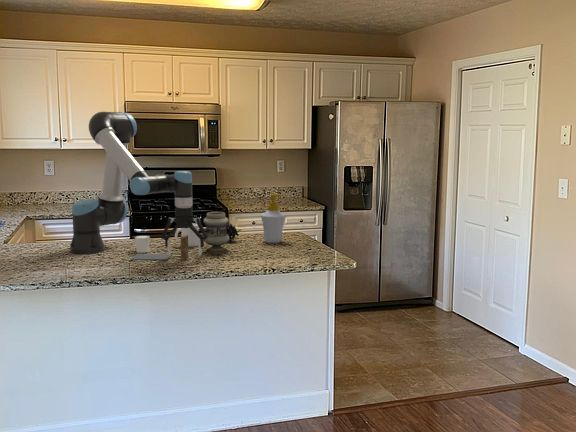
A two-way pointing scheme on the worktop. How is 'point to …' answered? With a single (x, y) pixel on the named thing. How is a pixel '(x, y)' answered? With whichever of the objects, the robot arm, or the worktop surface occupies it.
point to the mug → (192, 237)
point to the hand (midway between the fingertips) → (184, 254)
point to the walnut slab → (184, 247)
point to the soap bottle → (273, 222)
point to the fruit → (231, 232)
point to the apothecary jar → (216, 231)
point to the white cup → (142, 243)
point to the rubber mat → (151, 257)
